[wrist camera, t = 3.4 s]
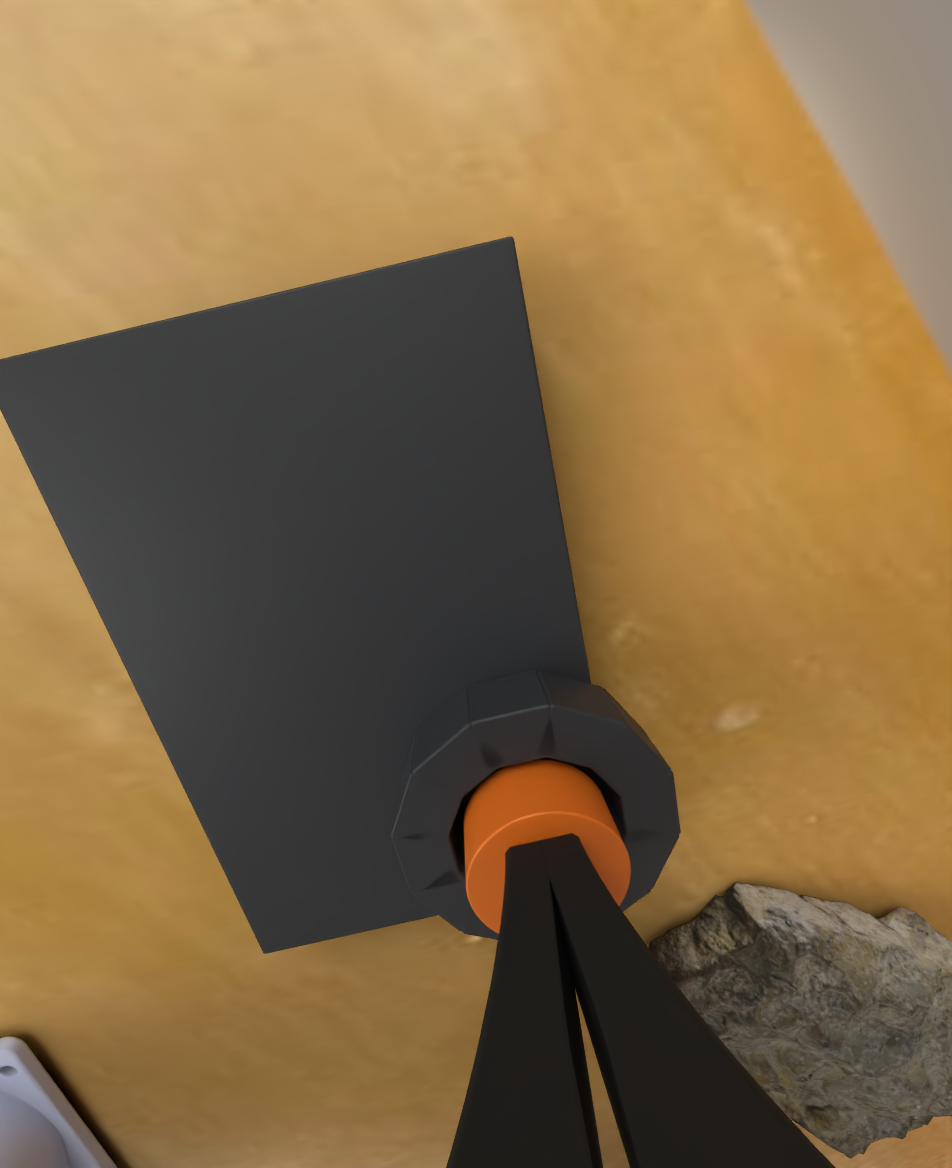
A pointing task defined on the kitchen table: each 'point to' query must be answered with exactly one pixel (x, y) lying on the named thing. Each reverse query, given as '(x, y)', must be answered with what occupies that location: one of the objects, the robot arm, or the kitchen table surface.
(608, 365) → the kitchen table surface
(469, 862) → the button
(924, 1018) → the stone
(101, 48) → the kitchen table surface
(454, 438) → the grey push button box
